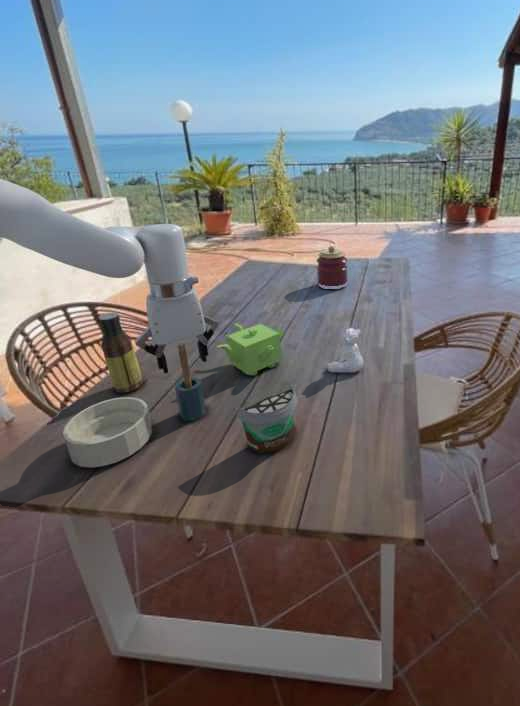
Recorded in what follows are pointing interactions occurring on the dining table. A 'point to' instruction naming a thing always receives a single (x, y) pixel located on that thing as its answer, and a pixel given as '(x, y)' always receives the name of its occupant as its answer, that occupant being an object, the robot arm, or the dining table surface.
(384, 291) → the dining table surface
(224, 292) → the dining table surface
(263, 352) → the kettle
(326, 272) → the kitchen canister
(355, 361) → the sitting furry creature
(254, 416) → the food container
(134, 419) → the bowl
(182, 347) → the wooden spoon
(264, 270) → the dining table surface
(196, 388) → the crock
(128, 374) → the sauce bottle
